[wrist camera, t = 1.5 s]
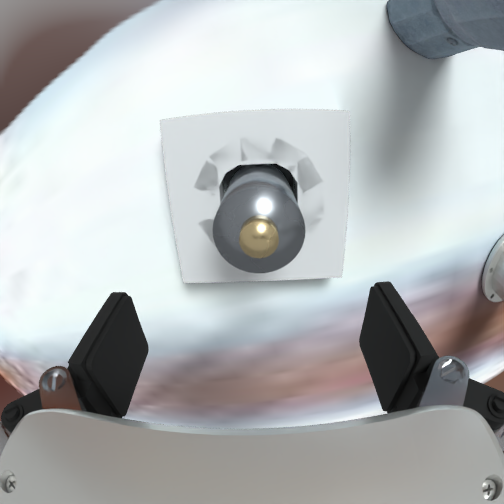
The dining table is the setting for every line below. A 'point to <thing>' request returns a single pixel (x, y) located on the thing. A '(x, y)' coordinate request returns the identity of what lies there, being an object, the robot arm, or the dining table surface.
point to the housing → (258, 152)
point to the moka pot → (448, 25)
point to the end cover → (259, 221)
